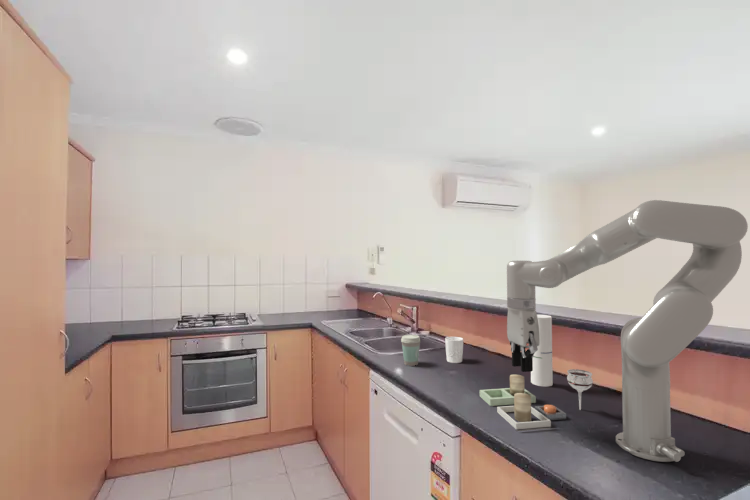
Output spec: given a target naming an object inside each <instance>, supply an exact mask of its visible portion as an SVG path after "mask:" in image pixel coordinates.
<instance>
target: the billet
mask: <svg viewBox="0 0 750 500" xmlns="http://www.w3.org/2000/svg"><path fill="white" fill-rule="evenodd" d="M513 406H514V412H513V413H514V420H515V421H516V422H517V421H518V422H531V421H532V413H531V407H532V403H531V396H530V395H528V394H525V393H516V394H514V404H513Z"/></svg>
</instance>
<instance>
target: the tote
mask: <svg viewBox="0 0 750 500" xmlns="http://www.w3.org/2000/svg"><path fill="white" fill-rule="evenodd" d="M496 410H497V411H496V412H497V413H498V414H499V415H500V416H501V417H502V418H503V420H505V421H506V422H507V423H509V424H510V426H511V427H513V428H514V429H515V432H524V431H537V430H549V429H551V427H552V420H549V419H548V418H546V417H545V416H544V415H542V414H541V413H539V412H538V411H537V410H535V407H534V406H531V415H533V416H534V417H536V418H537V419H538V420H533V421H532V420H531V422H519V421H518V422H517V420H515V419H513V418H512V417H511V416H510V415H509V414H507V413H514V405H502V406H496Z"/></svg>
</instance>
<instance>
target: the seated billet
mask: <svg viewBox="0 0 750 500" xmlns="http://www.w3.org/2000/svg"><path fill="white" fill-rule="evenodd" d="M509 388H510V394H511V395H512V396H514V394H516V393H524V389H525V376H524V375H520V374H510V375H509Z"/></svg>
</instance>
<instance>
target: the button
mask: <svg viewBox="0 0 750 500" xmlns="http://www.w3.org/2000/svg"><path fill="white" fill-rule="evenodd" d="M553 405H554V404H544V405H543V406H544V411H545V412H547V413H556V407H557V406H556V407H555V405H554V406H553Z"/></svg>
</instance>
